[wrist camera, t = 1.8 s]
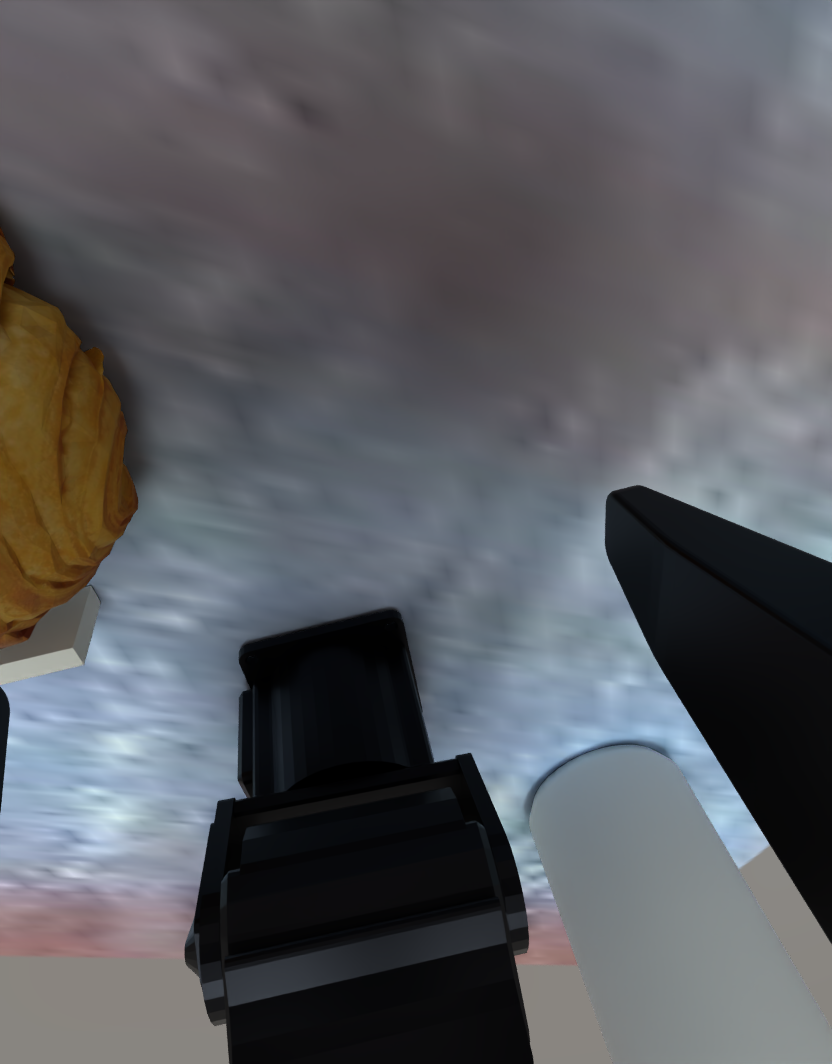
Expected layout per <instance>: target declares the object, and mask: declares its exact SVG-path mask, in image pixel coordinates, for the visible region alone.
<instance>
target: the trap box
mask: <svg viewBox="0 0 832 1064" xmlns="http://www.w3.org/2000/svg"><path fill="white" fill-rule="evenodd" d="M100 604H101V602H100V600H99V598H98V597H97V595H96V593H95V592H94V590H93V588H92V586H87V587H84V588H83V589H81V590H80V591H79V592H78V593H77V594H76V595H75V596H73V597H72V598H71V599H70V600H69V601H68V602H67V603H64V604H62V605H59V606H56V607H54V608H51V609H50V610H49V611H48V613H47V614H45V615H44V616H43V617H42V618H41V619H40V620H39V621H38V622H37V623H36V626H35V628H34V630H33V632H32V634H31V636H30V638H29V639H28V640H26V641H24V642H22V643H19V644H16V645H13V646H10V647H6V648H3V649H0V685H3V684H7V683H11V682H15V681H19V680H23V679H27V678H32V677H36V676H40V675H44V674H48V673H52V672H57V671H61V670H65V669H69V668H73V667H77V666H82V665H84V663H85V659H86V656H87V652H88V648H89V645H90V641H91V637H92V633H93V630H94V626H95V622H96V619H97V615H98V611H99V607H100Z"/></svg>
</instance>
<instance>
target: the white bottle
mask: <svg viewBox="0 0 832 1064" xmlns="http://www.w3.org/2000/svg"><path fill="white" fill-rule="evenodd" d="M529 826H530V831H531V833H532V836H533V839H534V842H535V845H536V848H537V850H538V853H539V856H540V859H541V862H542V865H543V867H544V870H545V873H546V876H547V879H548V882H549V884H550V887H551V890H552V893H553V896H554V899H555V901H556V904H557V907H558V910H559V913H560V916H561V918H562V921H563V924H564V927H565V930H566V933H567V935H568V938H569V941H570V944H571V947H572V950H573V953H574V955H575V958H576V961H577V964H578V967H579V969H580V972H581V975H582V978H583V981H584V984H585V987H586V989H587V992H588V995H589V998H590V1000H591V1004H592V1006H593V1009H594V1012H595V1015H596V1018H597V1021H598V1023H599V1026H600V1029H601V1032H602V1035H603V1037H604V1040H605V1043H606V1046H607V1049H608V1052H609V1055H610V1057H611V1060H612V1063H613V1064H832V1028H831V1026H830V1024H829V1023H828V1021H827V1019H826V1017H825V1016H824V1014H823V1012H822V1011H821V1009H820V1007H819V1005H818V1004H817V1002H816V1000H815V999H814V997H813V995H812V994H811V992H810V990H809V989H808V987H807V985H806V983H805V982H804V980H803V978H802V977H801V975H800V973H799V971H798V970H797V968H796V966H795V965H794V963H793V961H792V960H791V958H790V956H789V954H788V953H787V951H786V949H785V948H784V946H783V944H782V942H781V941H780V939H779V937H778V936H777V934H776V932H775V931H774V929H773V927H772V925H771V924H770V922H769V920H768V919H767V917H766V915H765V913H764V912H763V910H762V909H761V907H760V905H759V903H758V902H757V900H756V898H755V897H754V895H753V893H752V891H751V890H750V888H749V886H748V885H747V883H746V881H745V880H744V878H743V876H742V874H741V873H740V871H739V869H738V867H737V866H736V864H735V862H734V861H733V859H732V857H731V856H730V854H729V852H728V850H727V849H726V847H725V845H724V844H723V842H722V840H721V839H720V837H719V835H718V833H717V832H716V830H715V828H714V827H713V825H712V823H711V821H710V820H709V818H708V816H707V815H706V813H705V811H704V810H703V808H702V806H701V804H700V803H699V801H698V799H697V798H696V796H695V794H694V793H693V791H692V789H691V787H690V786H689V784H688V782H687V781H686V779H685V777H684V775H683V774H682V772H681V770H680V769H679V767H678V765H677V764H676V763H675V762H673V761H672V760H671V759H669V758H667V757H666V756H664V755H662V754H660V753H658V752H656V751H655V750H652V749H650V748H647V747H645V746H639V745H616V746H608V747H605V748H601V749H597V750H594V751H591V752H588V753H586V754H583V755H581V756H579V757H577V758H575V759H573V760H571V761H569V762H567V763H566V764H564V765H563V766H561V767H560V768H558V769H557V770H556V771H554V772H553V773H552V774H551V775H550V776H549V777H547V779H546V780H545V781H544V782H543V783H542V784H541V786H540V787H539V789H538V791H537V792H536V794H535V797H534V801H533V805H532V809H531V814H530V818H529Z"/></svg>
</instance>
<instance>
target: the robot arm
mask: <svg viewBox="0 0 832 1064" xmlns="http://www.w3.org/2000/svg"><path fill="white" fill-rule="evenodd" d="M605 548H606V553H607V556H608V559H609V562H610V564H611V566H612V568H613V570H614V572H615V575H616V577H617V579H618V581H619V583H620V585H621V587H622V590H623V592H624V594H625V596H626V598H627V600H628V602H629V605H630V607H631V609H632V611H633V613H634V615H635V618H636V620H637V622H638V624H639V626H640V628H641V630H642V633H643V635H644V637H645V639H646V641H647V643H648V645H649V647H650V649H651V651H652V653H653V655H654V657H655V659H656V661H657V662H658V664H659V666H660V668H661V669H662V671H663V673H664V674H665V676H666V678H667V679H668V681H669V682H670V684H671V686H672V687H673V689H674V690H675V692H676V694H677V695H678V697H679V699H680V700H681V702H682V703H683V705H684V707H685V708H686V710H687V711H688V713H689V715H690V716H691V718H692V720H693V721H694V723H695V724H696V726H697V728H698V729H699V731H700V732H701V734H702V736H703V737H704V739H705V741H706V742H707V744H708V745H709V747H710V749H711V750H712V752H713V753H714V755H715V757H716V758H717V760H718V762H719V763H720V765H721V766H722V768H723V770H724V771H725V773H726V774H727V776H728V778H729V779H730V781H731V783H732V784H733V786H734V787H735V789H736V791H737V792H738V794H739V795H740V797H741V799H742V800H743V802H744V804H745V805H746V807H747V808H748V810H749V812H750V813H751V815H752V816H753V818H754V820H755V821H756V823H757V825H758V826H759V828H760V829H761V831H762V833H763V834H764V836H765V837H766V839H767V841H768V842H769V844H770V846H771V847H772V849H773V850H774V852H775V854H776V855H777V857H778V858H779V860H780V861H781V863H782V865H783V867H784V868H785V870H786V871H787V873H788V874H789V876H790V878H791V879H792V881H793V883H794V884H795V886H796V887H797V889H798V891H799V892H800V894H801V896H802V897H803V899H804V900H805V902H806V904H807V905H808V907H809V909H810V910H811V912H812V913H813V915H814V916H815V918H816V919H817V921H818V923H819V925H820V926H821V928H822V929H823V931H824V933H825V934H826V936H827V938H828V939H829V941H830V942H831V944H832V563H831V562H829V561H826V560H824V559H821V558H819V557H816V556H814V555H811V554H809V553H807V552H804V551H802V550H799V549H797V548H794V547H792V546H789V545H787V544H784V543H782V542H780V541H777V540H775V539H772V538H770V537H767V536H765V535H762V534H760V533H757V532H755V531H753V530H750V529H748V528H745V527H743V526H740V525H738V524H735V523H733V522H730V521H728V520H726V519H723V518H721V517H718V516H716V515H713V514H711V513H708V512H706V511H703V510H701V509H698V508H696V507H694V506H691V505H689V504H686V503H684V502H681V501H679V500H676V499H674V498H671V497H669V496H667V495H664V494H662V493H659V492H657V491H654V490H652V489H649V488H647V487H644V486H641V485H636V486H632V487H627V488H623V489H619V490H615V491H612V492H611V493H610V494H609V495H608V497H607V500H606V519H605ZM389 622H394V623H392V624H387V623H389ZM249 656H256V657H254V658H250V657H249ZM239 664H240V666H241V668H242V671H243V673H244V675H245V677H246V680H247V682H248V684H249V686H250V688H251V689H250V690H246V691H243V692H242V694H241V695H240V697H239V732H238V782H239V784H240V786H241V787H242V789H243V791H244V793H245V795H246V797H247V798H246V799H240V800H236V799H235V798H231V799H226V800H220V801H218V803H217V809H216V815H215V821H214V823H212V824H211V825H210V831H209V837H208V843H207V848H206V854H205V860H204V866H203V871H202V877H201V883H200V889H199V895H198V900H197V906H196V912H195V917H194V920H193V923H192V926H191V929H190V931H189V934H188V937H187V940H186V943H185V962H186V965H187V966H188V967H189V968H190V969H191V970H192V971H193V972H194V973H195V974H197V976H199V978H200V983H201V987H202V990H203V996H204V1002H205V1006H206V1010H207V1014H208V1016H209V1019H210V1021H211V1023H212V1024H213V1025H214V1026H217V1025H221V1024H226V1026H227V1039H228V1053H229V1064H533V1063H534V1062H533V1055H532V1051H531V1047H530V1037H529V1029H528V1024H527V1019H526V1014H525V1009H524V1003H523V998H522V993H521V988H520V983H519V979H518V973H517V968H516V963H515V958H514V956H515V955H519V954H523V953H527V950H528V946H529V933H528V922H527V915H526V908H525V903H524V897H523V892H522V888H521V883H520V879H519V875H518V871H517V867H516V863H515V860H514V856H513V853H512V850H511V847H510V844H509V841H508V839H507V836H506V834H505V831H504V829H503V826H502V824H501V822H500V819H499V817H498V815H497V812H496V810H495V808H494V805H493V803H492V801H491V798H490V796H489V794H488V791H487V789H486V787H485V785H484V782H483V780H482V778H481V775H480V773H479V771H478V768H477V766H476V764H475V761H474V759H473V757H472V754H471V753H467V754H462V755H456V757H455V759H450V760H444V761H439V762H434V758H433V754H432V750H431V746H430V742H429V738H428V734H427V730H426V726H425V722H424V719H423V715H422V706H421V702H420V697H419V693H418V688H417V683H416V679H415V674H414V669H413V665H412V660H411V655H410V651H409V646H408V641H407V637H406V632H405V628H404V623H403V619H402V616H401V614H400V613H399V612H397V611H394V610H389V611H384V612H380V613H376V614H371V615H367V616H363V617H359V618H355V619H351V620H347V621H342V622H338V623H334V624H330V625H326V626H322V627H318V628H314V629H309V630H305V631H301V632H297V633H293V634H289V635H285V636H281V637H276V638H272V639H268V640H264V641H260V642H256V643H252V644H248V645H245V646H243V647H242V648H241V649H240V651H239ZM9 717H10V707H9V701H8V698H7V696H6V694H5V692H4V691H3V689H2V688H1V687H0V811H1V802H2V791H3V780H4V770H5V759H6V748H7V738H8V727H9Z"/></svg>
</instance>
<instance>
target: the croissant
mask: <svg viewBox="0 0 832 1064" xmlns="http://www.w3.org/2000/svg"><path fill="white" fill-rule="evenodd" d="M14 260H15V255H14V252H13V251H12V250H11V248H10V247H9V245H8V243H7V241H6V239H5V237H4V234H3V232H2V229H1V227H0V649H3V648H6V647H10V646H13V645H16V644H19V643H22V642H24V641H26V640H28V639H29V638H30V636H31V634H32V632H33V630H34V628H35V626H36V623H37V622H38V621H39V620H40V619H41V618H42V617H43V616H44V615H45V614H47V613H48V611H49V610H50V609H51V608H54V607H56V606H59V605H62V604H64V603H67V602H68V601H69V600H70V599H71V598H72V597H73V596H75V595H76V594H77V593H78V592H79V591H80V590H81V589H83V588H84V587H85V586H86V585H87V584H88V582H89V581H90V580H91V579H92V577H93V576H94V575H95V573H96V571H97V569H98V567H99V565H100V563H101V561H102V560H103V559H104V558H106V557H107V556H108V555H109V554H110V552H111V550H112V547H113V545H114V543H115V541H116V540H117V539H118V538H119V537H121V536H122V535H123V533H124V531H125V529H126V526H127V524H128V523H129V522H130V520H131V518H132V516H133V514H134V513H135V512H136V510H137V509H138V497H137V493H136V489H135V486H134V483H133V481H132V479H131V476H130V474H129V471H128V469H127V467H126V466H125V465H124V464H123V454H124V442H125V437H126V434H127V432H128V429H127V426H126V422H125V419H124V415H123V412H122V411H121V402H120V400H119V397H118V395H117V394H116V392H115V391H114V389H113V387H112V385H111V383H110V381H109V380H108V379H107V378H106V377H105V376H104V375H103V370H104V369H103V359H104V356H103V353H102V351H101V350H100V349H99V348H96V347H93V348H92V349H90V350H87V351H85V352H83V351H82V350H81V349H80V345H81V343H82V342H81V340H80V339H79V338H78V336H77V335H76V334H75V333H74V332H73V331H72V330H71V329H70V328H69V327H68V326H67V325H66V322H65V319H64V317H63V315H62V313H61V312H60V310H59V309H58V308H57V307H55V306H53V305H51V304H49V303H47V302H45V301H43V300H41V299H39V298H37V297H35V296H33V295H30V294H28V293H26V292H24V291H22V290H20V289H17V288H15V287H13V285H14V283H15V279H13V278H12V277H13V276H14V277H15V274H14V269H13V263H14Z"/></svg>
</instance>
